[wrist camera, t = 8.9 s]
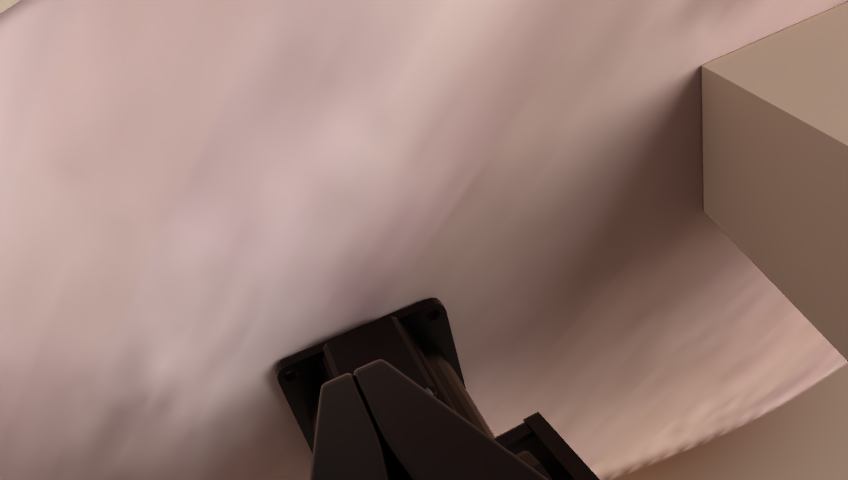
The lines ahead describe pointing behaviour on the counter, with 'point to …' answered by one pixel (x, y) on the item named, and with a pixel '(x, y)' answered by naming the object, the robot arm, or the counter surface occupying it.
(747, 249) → the soap bottle
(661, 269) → the counter surface
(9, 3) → the mat
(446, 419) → the robot arm
